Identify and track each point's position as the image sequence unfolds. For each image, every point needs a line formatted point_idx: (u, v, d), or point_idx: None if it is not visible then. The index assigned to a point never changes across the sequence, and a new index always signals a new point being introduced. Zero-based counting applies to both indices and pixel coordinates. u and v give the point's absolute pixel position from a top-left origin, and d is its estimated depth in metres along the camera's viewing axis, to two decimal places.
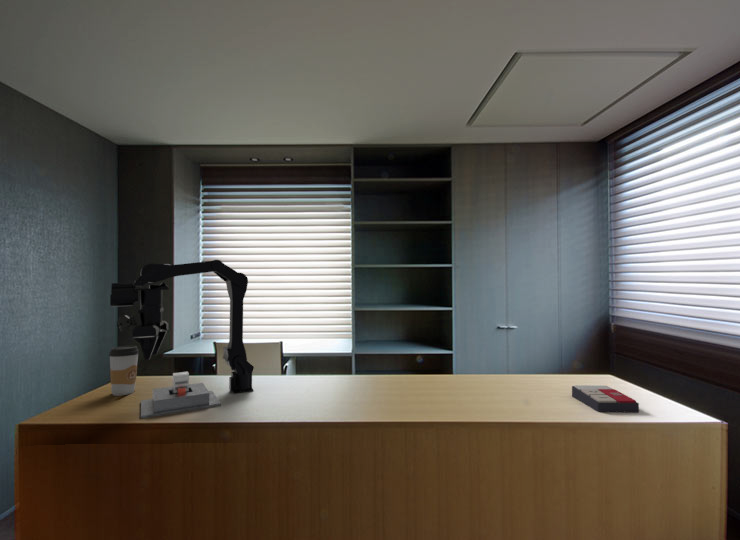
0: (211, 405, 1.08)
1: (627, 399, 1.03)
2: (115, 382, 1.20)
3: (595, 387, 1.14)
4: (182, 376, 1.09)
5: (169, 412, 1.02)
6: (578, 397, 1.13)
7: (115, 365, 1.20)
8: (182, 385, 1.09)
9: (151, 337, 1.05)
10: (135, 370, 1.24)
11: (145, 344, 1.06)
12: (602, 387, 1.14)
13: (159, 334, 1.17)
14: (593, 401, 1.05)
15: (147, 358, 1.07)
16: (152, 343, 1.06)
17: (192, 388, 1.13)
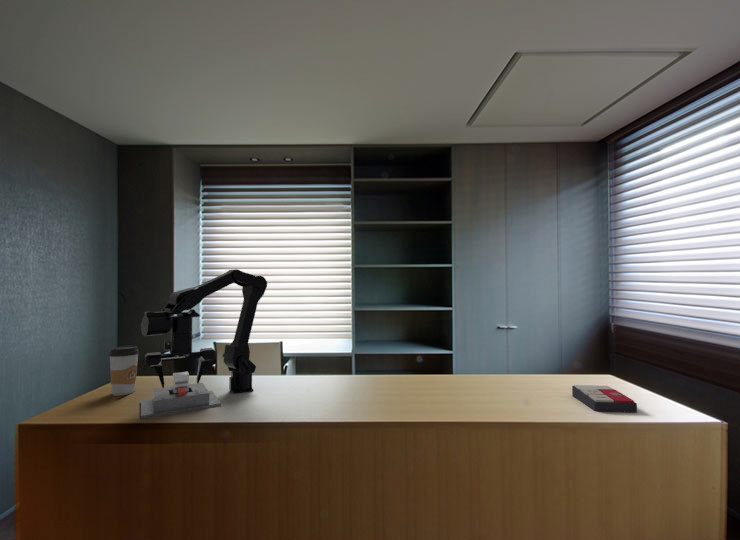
0: (211, 405, 1.08)
1: (625, 399, 1.03)
2: (115, 382, 1.20)
3: (595, 387, 1.14)
4: (182, 376, 1.09)
5: (169, 412, 1.02)
6: (577, 396, 1.13)
7: (115, 365, 1.20)
8: (182, 385, 1.09)
9: (150, 366, 1.05)
10: (135, 370, 1.24)
11: None
12: (603, 387, 1.14)
13: (200, 363, 1.13)
14: (590, 400, 1.05)
15: None
16: (157, 372, 1.06)
17: (192, 388, 1.13)
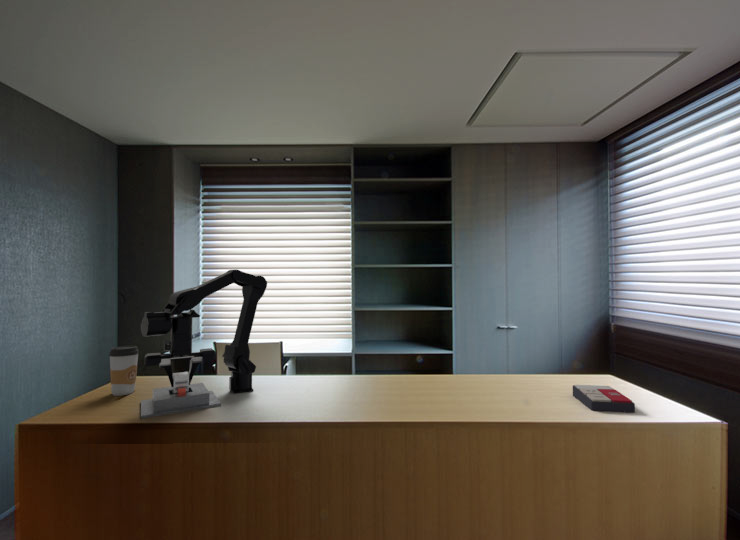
0: (211, 405, 1.08)
1: (623, 399, 1.03)
2: (115, 382, 1.20)
3: (596, 387, 1.14)
4: (182, 376, 1.09)
5: (169, 412, 1.02)
6: (577, 396, 1.14)
7: (115, 365, 1.20)
8: (182, 385, 1.09)
9: (160, 365, 1.07)
10: (135, 370, 1.24)
11: None
12: (603, 387, 1.14)
13: (191, 364, 1.11)
14: (588, 400, 1.06)
15: (171, 385, 1.09)
16: None
17: (192, 388, 1.13)
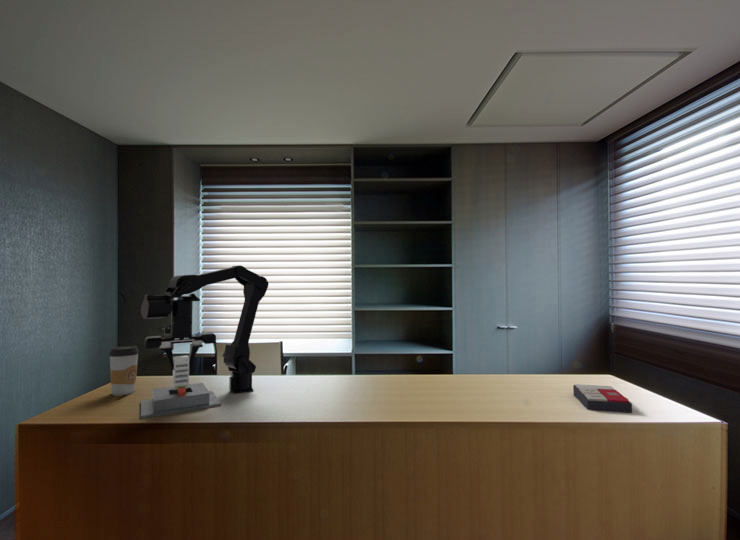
0: (211, 405, 1.08)
1: (620, 399, 1.03)
2: (115, 382, 1.20)
3: (596, 387, 1.15)
4: (182, 359, 1.10)
5: (169, 412, 1.02)
6: (576, 395, 1.15)
7: (115, 365, 1.20)
8: (182, 368, 1.10)
9: (160, 348, 1.07)
10: (135, 370, 1.24)
11: None
12: (604, 387, 1.14)
13: (191, 348, 1.12)
14: (585, 399, 1.06)
15: None
16: (167, 354, 1.08)
17: (192, 388, 1.13)
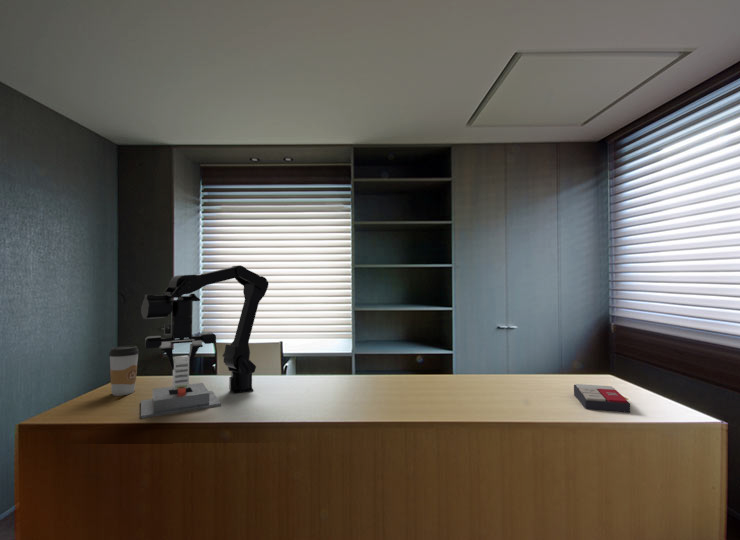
0: (211, 405, 1.08)
1: (619, 399, 1.03)
2: (115, 382, 1.20)
3: (597, 387, 1.15)
4: (182, 359, 1.10)
5: (169, 412, 1.02)
6: (576, 395, 1.15)
7: (115, 365, 1.20)
8: (182, 368, 1.10)
9: None
10: (135, 370, 1.24)
11: None
12: (604, 387, 1.14)
13: (191, 348, 1.12)
14: (583, 398, 1.07)
15: None
16: (167, 354, 1.08)
17: (192, 388, 1.13)
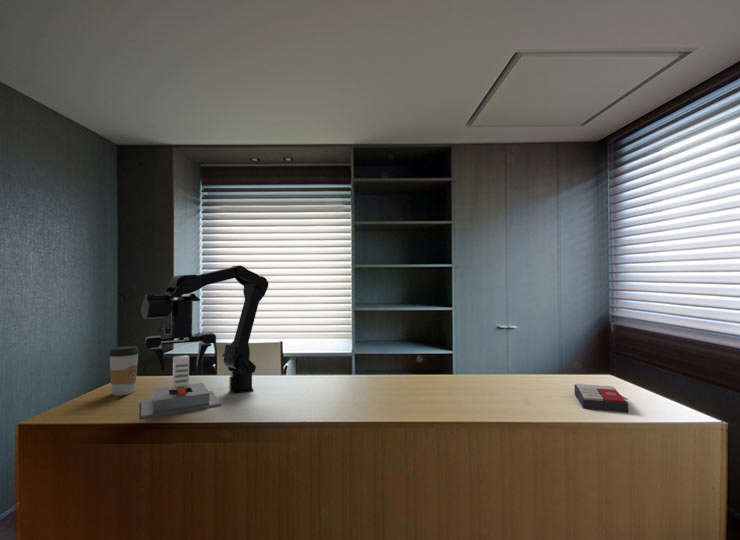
0: (211, 405, 1.08)
1: (617, 399, 1.03)
2: (115, 382, 1.20)
3: (597, 387, 1.15)
4: (182, 359, 1.10)
5: (169, 412, 1.02)
6: (576, 395, 1.15)
7: (115, 365, 1.20)
8: (182, 368, 1.10)
9: (150, 349, 1.06)
10: (135, 370, 1.24)
11: None
12: (605, 387, 1.14)
13: (200, 347, 1.13)
14: (581, 398, 1.07)
15: (162, 369, 1.08)
16: None
17: (192, 388, 1.13)
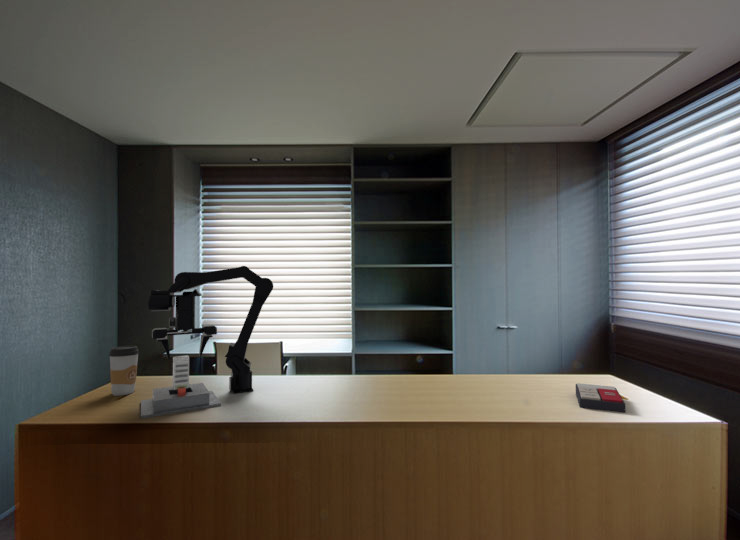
0: (211, 405, 1.08)
1: (614, 399, 1.04)
2: (115, 382, 1.20)
3: (598, 386, 1.15)
4: (182, 359, 1.10)
5: (169, 412, 1.02)
6: (576, 394, 1.16)
7: (115, 365, 1.20)
8: (182, 368, 1.10)
9: (157, 339, 1.16)
10: (135, 370, 1.24)
11: None
12: (606, 387, 1.14)
13: (202, 338, 1.23)
14: (578, 397, 1.08)
15: None
16: (163, 345, 1.17)
17: (192, 388, 1.13)
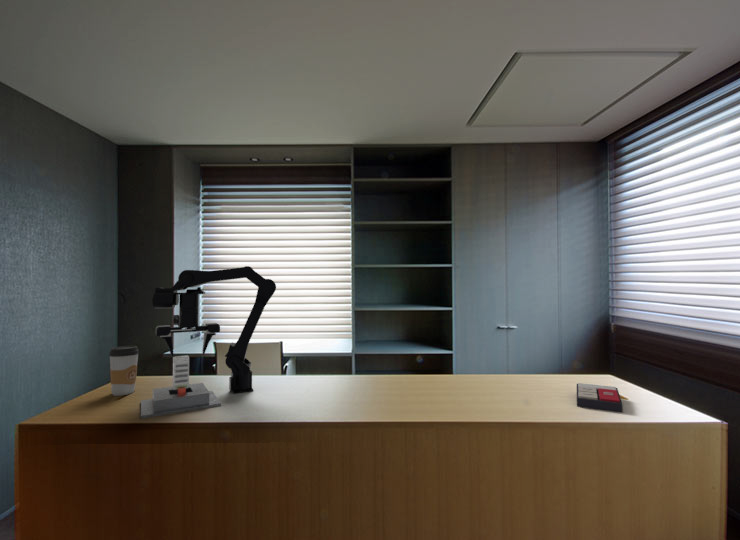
0: (211, 405, 1.08)
1: (612, 398, 1.04)
2: (115, 382, 1.20)
3: (598, 386, 1.15)
4: (182, 359, 1.10)
5: (169, 412, 1.02)
6: None
7: (115, 365, 1.20)
8: (182, 368, 1.10)
9: (161, 337, 1.17)
10: (135, 370, 1.24)
11: None
12: (606, 387, 1.14)
13: (205, 336, 1.24)
14: None
15: (171, 355, 1.19)
16: (167, 342, 1.18)
17: (192, 388, 1.13)
